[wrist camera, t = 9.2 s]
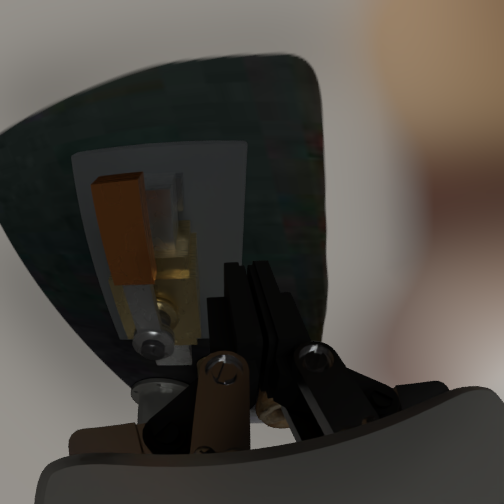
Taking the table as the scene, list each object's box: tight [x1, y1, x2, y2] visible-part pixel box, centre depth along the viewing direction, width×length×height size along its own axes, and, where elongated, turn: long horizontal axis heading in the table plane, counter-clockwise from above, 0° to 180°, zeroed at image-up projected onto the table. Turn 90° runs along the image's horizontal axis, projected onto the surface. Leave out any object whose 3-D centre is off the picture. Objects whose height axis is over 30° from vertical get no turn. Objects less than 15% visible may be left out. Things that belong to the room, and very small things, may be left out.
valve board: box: [71, 141, 247, 340], centre depth 29 cm, size 24×16×2 cm, turn 177°
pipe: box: [256, 389, 290, 428], centre depth 41 cm, size 9×16×10 cm, turn 6°
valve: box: [108, 172, 201, 365], centre depth 24 cm, size 20×7×9 cm, turn 177°
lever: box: [90, 171, 175, 360], centre depth 16 cm, size 14×3×2 cm, turn 178°
